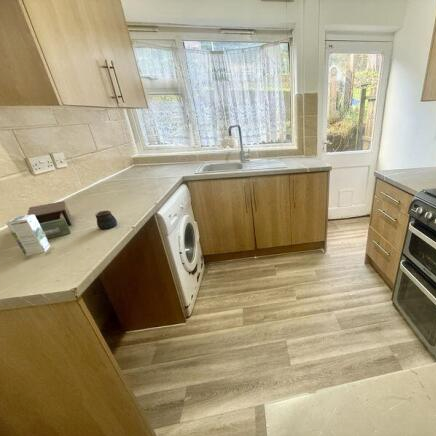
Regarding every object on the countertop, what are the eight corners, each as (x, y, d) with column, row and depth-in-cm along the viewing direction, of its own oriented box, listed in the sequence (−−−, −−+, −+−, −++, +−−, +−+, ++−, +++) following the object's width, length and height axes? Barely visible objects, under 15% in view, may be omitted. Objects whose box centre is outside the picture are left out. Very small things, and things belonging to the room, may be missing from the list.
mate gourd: (117, 223, 115) (109, 204, 111) (120, 228, 110) (112, 208, 106) (99, 228, 111) (90, 208, 107) (101, 234, 106) (91, 213, 102)
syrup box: (33, 250, 94) (13, 216, 88) (52, 246, 96) (34, 213, 90) (26, 258, 89) (4, 222, 83) (46, 253, 91) (26, 219, 85)
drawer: (71, 236, 102) (64, 221, 100) (33, 246, 96) (25, 230, 93) (69, 222, 116) (64, 209, 113) (36, 229, 109) (30, 216, 107)
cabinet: (72, 226, 114) (65, 209, 110) (35, 235, 106) (26, 217, 103) (71, 216, 125) (64, 200, 122) (37, 223, 118) (29, 207, 114)
